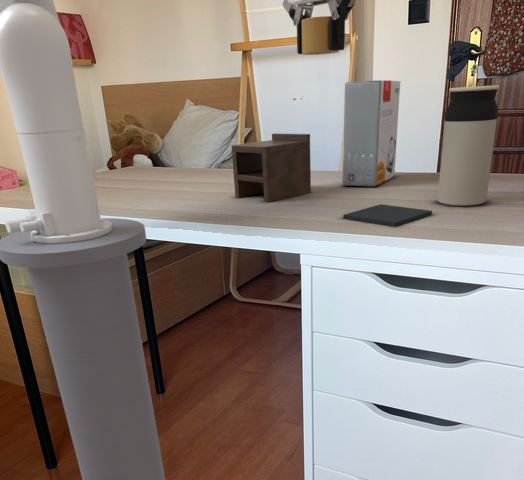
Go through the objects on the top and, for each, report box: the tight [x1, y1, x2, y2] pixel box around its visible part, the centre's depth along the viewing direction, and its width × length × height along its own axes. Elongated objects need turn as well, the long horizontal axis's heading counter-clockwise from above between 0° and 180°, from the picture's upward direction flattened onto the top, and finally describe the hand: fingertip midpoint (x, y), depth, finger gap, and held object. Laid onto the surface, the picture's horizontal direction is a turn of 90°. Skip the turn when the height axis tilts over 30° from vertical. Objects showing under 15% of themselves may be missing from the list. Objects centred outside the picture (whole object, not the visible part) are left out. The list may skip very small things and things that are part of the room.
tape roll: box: [301, 15, 340, 56], centre depth 85 cm, size 6×6×5 cm
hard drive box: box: [341, 79, 401, 187], centre depth 113 cm, size 16×8×20 cm, turn 153°
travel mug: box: [437, 84, 500, 207], centre depth 88 cm, size 8×8×18 cm
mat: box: [342, 204, 433, 227], centre depth 85 cm, size 10×10×1 cm
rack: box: [231, 132, 312, 203], centre depth 106 cm, size 12×10×11 cm
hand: (320, 50), depth 86 cm, fingers closed on tape roll, 6 cm apart
